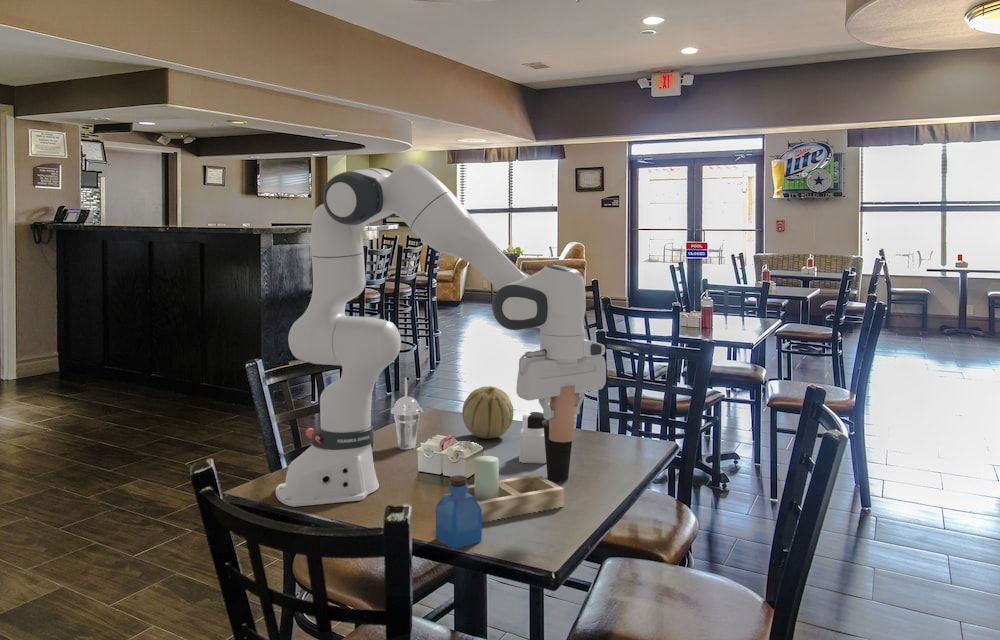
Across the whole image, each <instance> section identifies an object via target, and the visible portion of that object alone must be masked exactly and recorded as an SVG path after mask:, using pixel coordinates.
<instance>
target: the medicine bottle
mask: <svg viewBox="0 0 1000 640" xmlns="http://www.w3.org/2000/svg"><path fill="white" fill-rule="evenodd" d="M543 420H545V418H544V417H543V412H539V411H538V412H537V411H529V412H526V413H524V414H523V415H522V428H521V429H520V433H519V436H518V437H519V439H518V440H519V441H518V443H519V445H518V448H519V453H518V461H519V463H520V462H521V463H520V464H524V463H525V464H545V463H546V452H545V439H544V426H543V424H542V421H543Z"/></svg>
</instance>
